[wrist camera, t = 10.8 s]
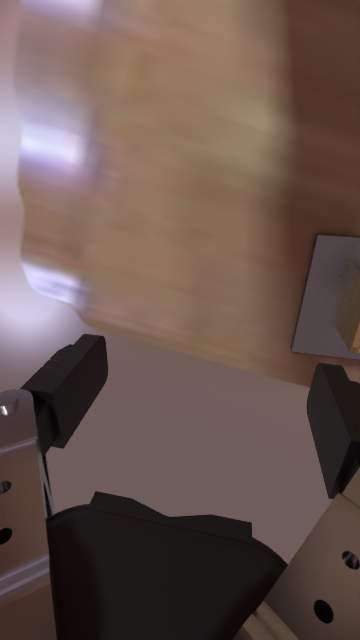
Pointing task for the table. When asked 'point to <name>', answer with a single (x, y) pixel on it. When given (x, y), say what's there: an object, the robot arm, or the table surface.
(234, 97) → the table surface
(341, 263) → the square socket base
